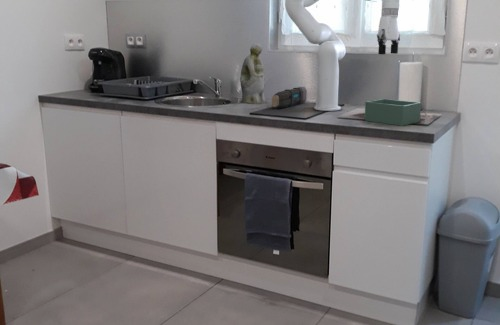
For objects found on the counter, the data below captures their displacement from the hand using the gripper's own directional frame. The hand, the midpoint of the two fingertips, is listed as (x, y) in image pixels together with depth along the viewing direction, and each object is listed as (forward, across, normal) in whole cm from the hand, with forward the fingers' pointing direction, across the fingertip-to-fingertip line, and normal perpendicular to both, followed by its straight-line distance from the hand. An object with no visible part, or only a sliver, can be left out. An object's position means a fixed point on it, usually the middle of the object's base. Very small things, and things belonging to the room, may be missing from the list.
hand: (388, 53), depth 229 cm
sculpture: (+26, +15, -70) cm, 76 cm away
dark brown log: (+26, +13, -46) cm, 55 cm away
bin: (+26, +15, +13) cm, 33 cm away
